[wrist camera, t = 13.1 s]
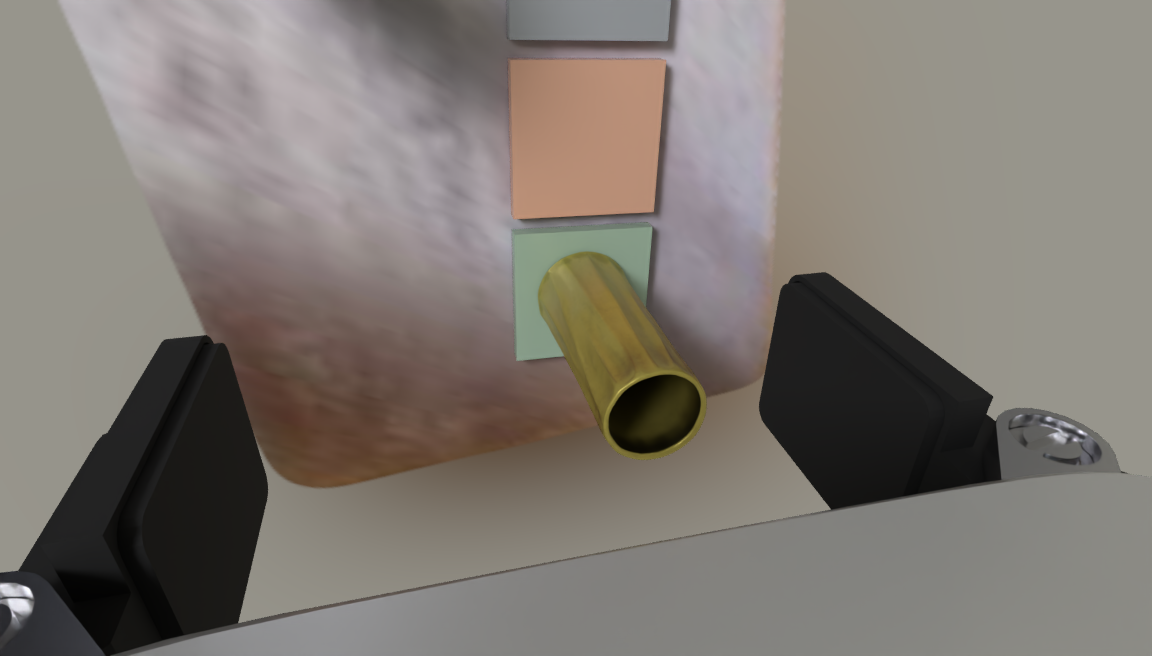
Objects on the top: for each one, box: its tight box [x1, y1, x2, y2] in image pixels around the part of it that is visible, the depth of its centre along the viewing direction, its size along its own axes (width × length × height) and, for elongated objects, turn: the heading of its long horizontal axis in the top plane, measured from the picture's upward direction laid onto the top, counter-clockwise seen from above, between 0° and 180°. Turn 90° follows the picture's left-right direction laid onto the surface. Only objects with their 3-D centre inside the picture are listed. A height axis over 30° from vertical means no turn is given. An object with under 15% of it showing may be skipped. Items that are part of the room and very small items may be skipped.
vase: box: [538, 251, 707, 460], centre depth 37 cm, size 6×6×14 cm
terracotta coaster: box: [508, 58, 666, 219], centre depth 39 cm, size 9×9×1 cm
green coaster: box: [512, 222, 652, 361], centre depth 43 cm, size 9×9×1 cm
